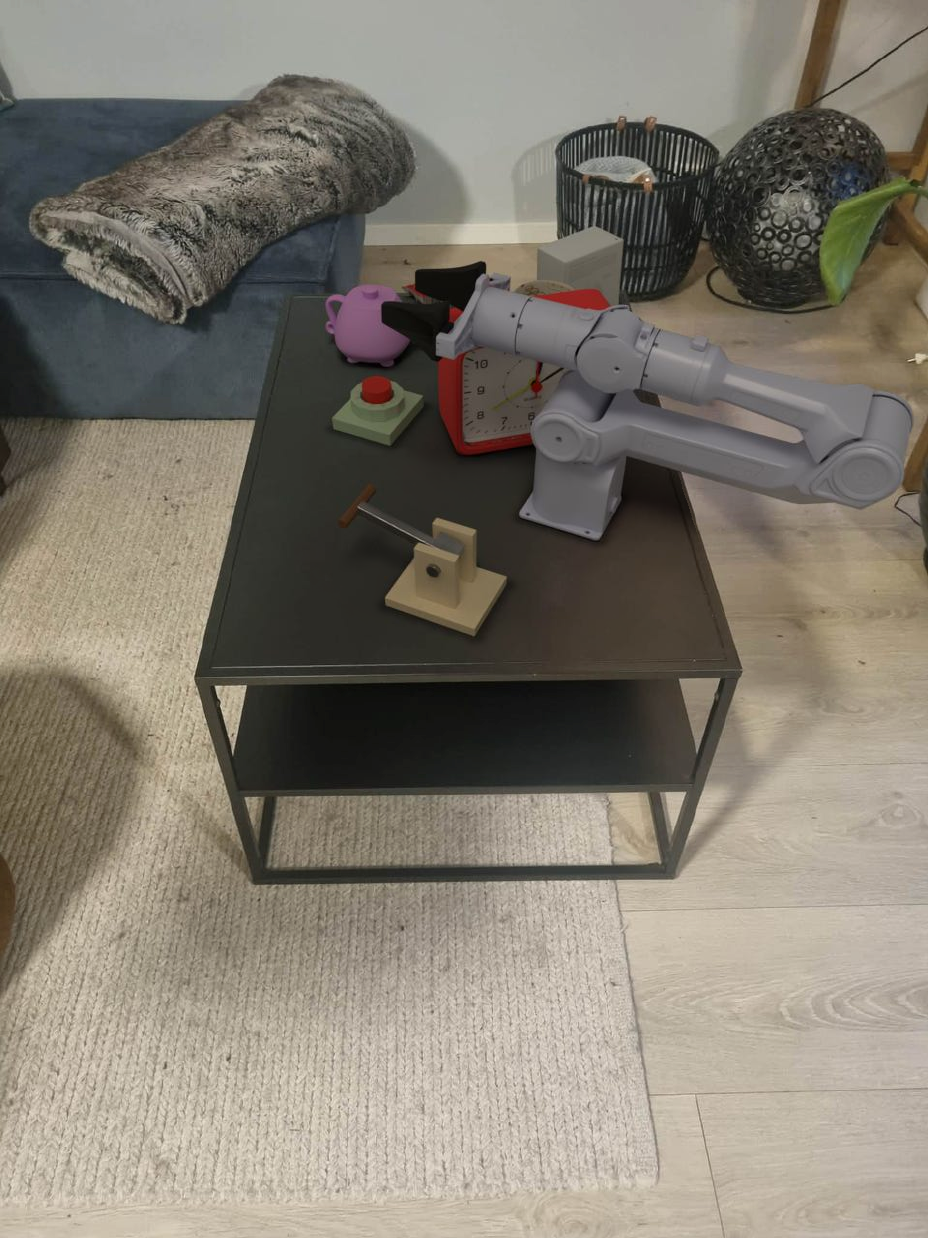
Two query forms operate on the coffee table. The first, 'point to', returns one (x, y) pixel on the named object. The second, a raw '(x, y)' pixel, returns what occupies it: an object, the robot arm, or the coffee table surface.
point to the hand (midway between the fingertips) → (399, 295)
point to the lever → (396, 524)
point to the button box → (378, 415)
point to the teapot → (365, 326)
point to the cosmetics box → (584, 262)
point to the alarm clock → (500, 389)
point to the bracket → (447, 583)
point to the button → (376, 390)
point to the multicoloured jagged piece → (420, 296)
